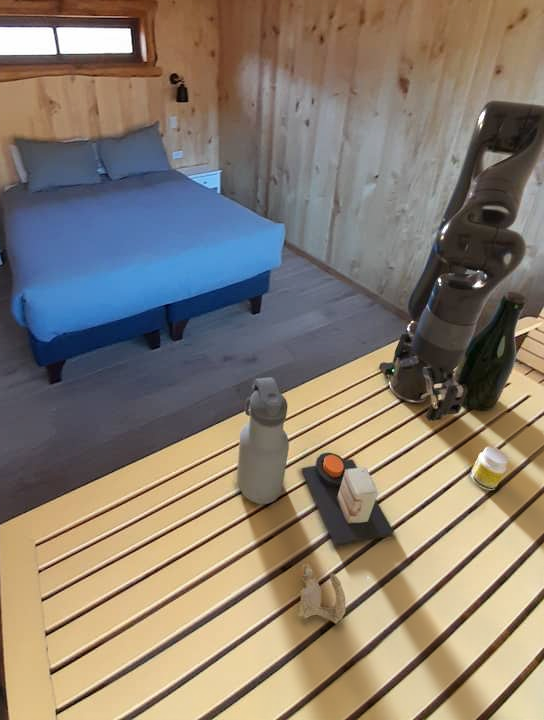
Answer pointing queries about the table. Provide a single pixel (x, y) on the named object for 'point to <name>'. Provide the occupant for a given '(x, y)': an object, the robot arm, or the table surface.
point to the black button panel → (330, 510)
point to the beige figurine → (313, 598)
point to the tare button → (333, 466)
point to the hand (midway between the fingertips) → (416, 399)
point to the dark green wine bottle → (491, 356)
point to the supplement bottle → (489, 468)
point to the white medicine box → (357, 495)
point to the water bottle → (263, 444)
